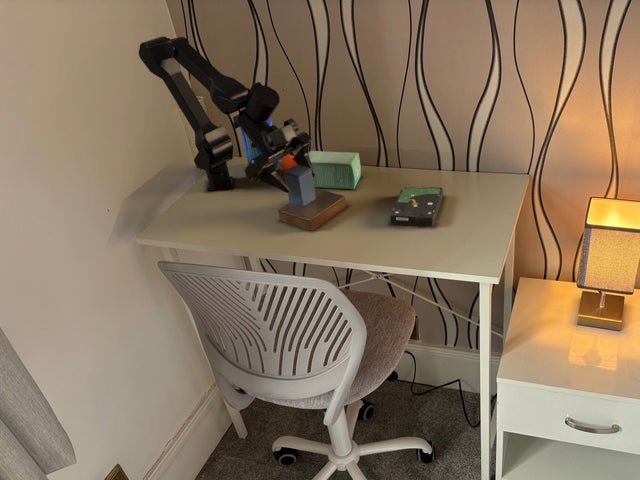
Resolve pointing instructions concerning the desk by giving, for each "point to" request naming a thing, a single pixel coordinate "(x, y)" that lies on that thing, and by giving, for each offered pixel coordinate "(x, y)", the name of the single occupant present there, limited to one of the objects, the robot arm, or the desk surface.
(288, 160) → the clementine
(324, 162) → the box
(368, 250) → the desk surface
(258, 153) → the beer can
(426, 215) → the disk drive
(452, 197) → the desk surface
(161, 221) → the desk surface
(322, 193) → the brown flat block
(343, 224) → the desk surface
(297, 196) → the small box
